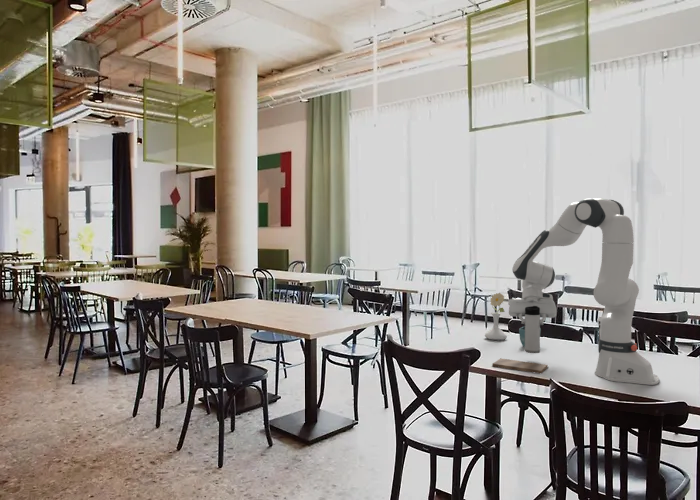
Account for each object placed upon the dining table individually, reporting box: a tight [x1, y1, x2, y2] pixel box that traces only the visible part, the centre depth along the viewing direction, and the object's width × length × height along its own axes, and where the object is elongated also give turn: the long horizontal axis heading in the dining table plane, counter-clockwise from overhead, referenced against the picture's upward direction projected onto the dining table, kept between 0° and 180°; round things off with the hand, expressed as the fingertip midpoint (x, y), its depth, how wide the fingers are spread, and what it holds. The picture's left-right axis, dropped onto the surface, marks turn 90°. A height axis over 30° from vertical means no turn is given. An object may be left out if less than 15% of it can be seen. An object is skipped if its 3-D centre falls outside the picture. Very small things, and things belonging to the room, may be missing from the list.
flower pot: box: [518, 326, 542, 348], centre depth 262 cm, size 9×9×9 cm
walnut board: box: [491, 357, 549, 374], centre depth 224 cm, size 20×11×1 cm, turn 57°
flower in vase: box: [484, 292, 508, 341], centre depth 278 cm, size 13×11×25 cm
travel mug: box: [524, 306, 541, 354], centre depth 234 cm, size 6×7×20 cm
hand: (532, 323), depth 233 cm, fingers closed on travel mug, 6 cm apart
